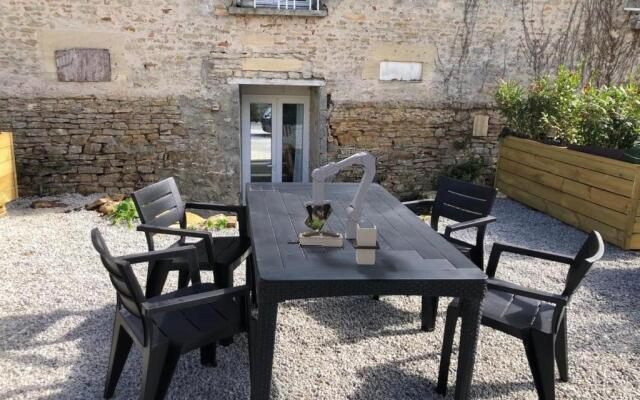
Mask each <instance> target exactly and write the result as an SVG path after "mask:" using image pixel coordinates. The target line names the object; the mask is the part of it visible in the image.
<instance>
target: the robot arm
mask: <svg viewBox="0 0 640 400" xmlns="http://www.w3.org/2000/svg"><path fill="white" fill-rule="evenodd" d="M353 164H354V165H360V166H361V168H362V169H363V171H364V172H363V175H362V177H361V179H360V182H359V185H358V188H357V189H356V192H355V195H354V196H353V199H352V200H351V202H349V204H348V206H347V207H346V208H345V210H344V211H345V212H344V213H345V215H346V218H345V233H344V239H349V240H350V239H352V240H356V239H357V224H358V225H359V228H365V221H364V219H363V220H361V219H362V217H363V216H362V215H363V213H362V212H363V203H364V201H365V199H366V197H367V194H368V191H369V190H370V187H371V186H372V182H373V180H374V178H375V175H376V159H375V158H374V156H373V155H372V154H371V153H368V152H365V151H359V152H358V153H355V154H353V155H350V156H348V157H347V158H345V159H343V160H341V161H338V162H334V161H333V162H332V161H329V162H328V164H326V165H324V166H320V167H319V168H314V169H313V170H312V172H311V174H310V176H311V177H312V200H310V201H303V206H304V207H305V208H306V209H305V210H306V211H307V215H308V214H309V219H310V220H312V212H313V208H312V207H313V206H316V205H323V209H324V219H326V218H327V214H328V212H329V210H330V208H332V206H331V205H333V200H330V199H327V200H325V180H326V178H329V177H331V176H333V175H335V174H338V173H339V170H341V169H344V168H347V167H348V166H351V165H353Z"/></svg>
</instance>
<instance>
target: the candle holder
mask: <svg viewBox="0 0 640 400" xmlns="http://www.w3.org/2000/svg"><path fill="white" fill-rule="evenodd" d="M377 230H378V229H377V227H376V225H375V224H373V228H371V227H370V228H367V227H366V228H365V227H364V228H359V225H358V224H357V239H352V240H351V241H352V242H351V243H352V246H353V249H354V250H356V251H355V252H356V253H355V260H356V263H357V265H375V264H376V263H375V261H376V250H380V248H381V246H380V243H379V242H378V240H377Z"/></svg>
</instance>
